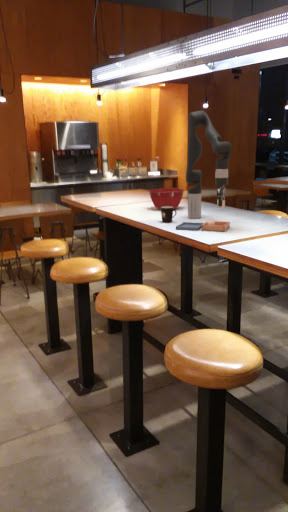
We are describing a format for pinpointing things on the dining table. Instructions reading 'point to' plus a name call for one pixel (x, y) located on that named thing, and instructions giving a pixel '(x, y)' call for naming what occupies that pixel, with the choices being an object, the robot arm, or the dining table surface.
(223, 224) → the wooden tray
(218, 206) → the pebble
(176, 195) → the mixing bowl
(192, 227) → the parts tray
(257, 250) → the dining table surface
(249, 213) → the dining table surface
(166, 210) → the coffee mug
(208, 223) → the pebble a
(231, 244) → the dining table surface
